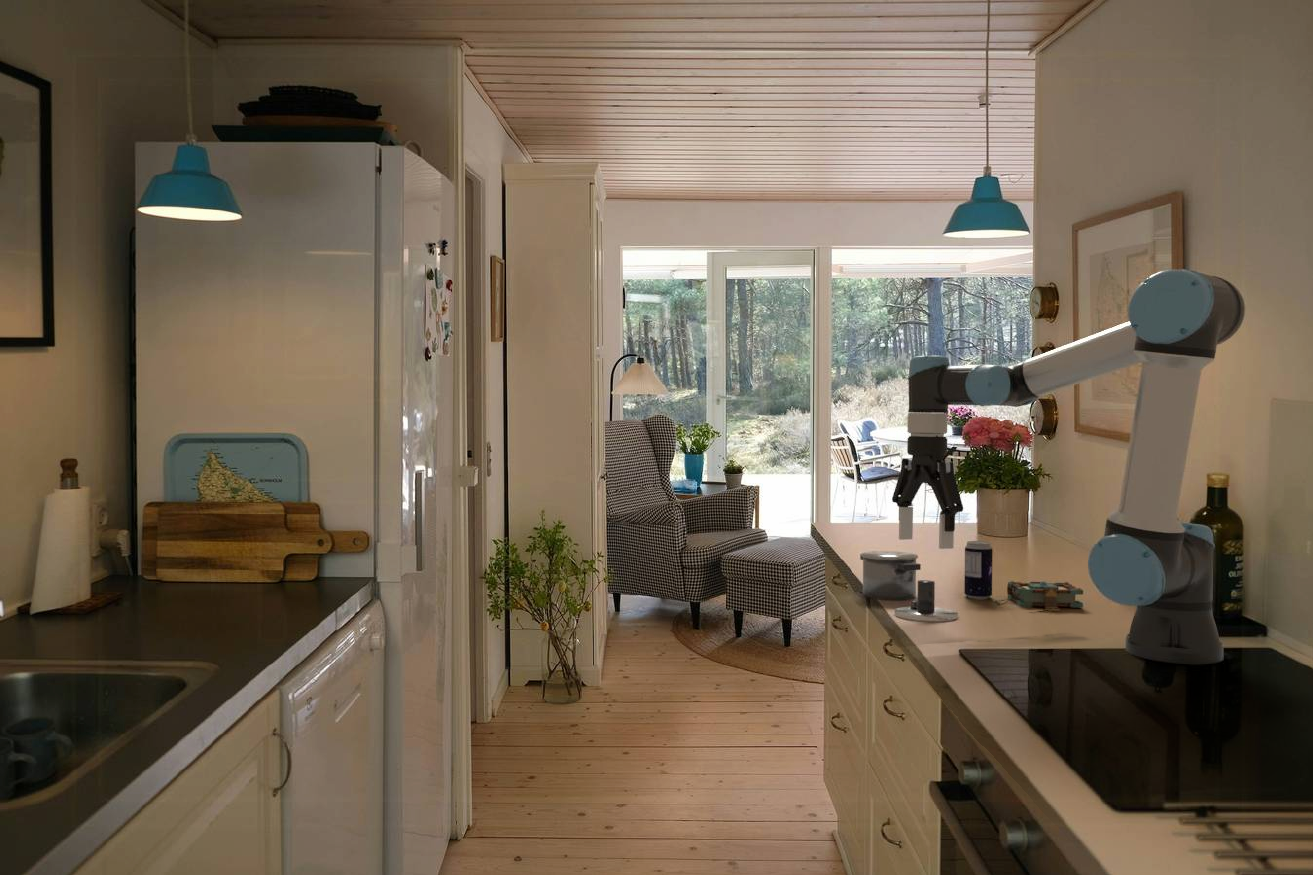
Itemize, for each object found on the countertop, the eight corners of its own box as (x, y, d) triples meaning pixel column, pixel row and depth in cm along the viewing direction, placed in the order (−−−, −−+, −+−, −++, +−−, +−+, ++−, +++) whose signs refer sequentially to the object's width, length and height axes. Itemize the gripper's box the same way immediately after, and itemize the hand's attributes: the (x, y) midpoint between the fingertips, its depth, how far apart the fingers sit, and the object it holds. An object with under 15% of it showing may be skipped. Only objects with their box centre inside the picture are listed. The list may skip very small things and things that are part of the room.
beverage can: (993, 600, 216) (994, 544, 215) (965, 599, 217) (966, 543, 217) (990, 596, 221) (990, 541, 221) (963, 595, 222) (963, 540, 222)
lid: (970, 620, 196) (971, 584, 196) (917, 625, 192) (917, 588, 192) (933, 609, 207) (934, 575, 207) (882, 613, 203) (882, 578, 203)
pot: (891, 588, 231) (891, 548, 231) (936, 601, 215) (936, 558, 215) (844, 591, 227) (844, 550, 227) (887, 604, 211) (887, 561, 211)
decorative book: (982, 598, 221) (983, 575, 221) (1066, 599, 220) (1066, 576, 219) (999, 610, 207) (999, 585, 207) (1088, 611, 206) (1088, 587, 206)
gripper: (984, 437, 188) (981, 551, 189) (907, 433, 212) (905, 535, 212) (949, 437, 186) (947, 553, 186) (876, 433, 209) (874, 536, 210)
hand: (925, 543), depth 199 cm, fingers open, 13 cm apart
